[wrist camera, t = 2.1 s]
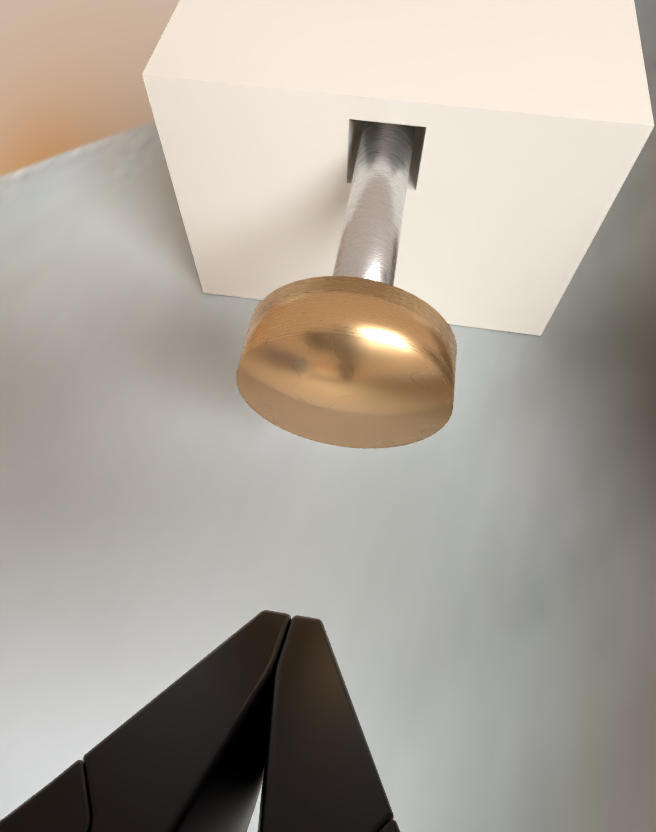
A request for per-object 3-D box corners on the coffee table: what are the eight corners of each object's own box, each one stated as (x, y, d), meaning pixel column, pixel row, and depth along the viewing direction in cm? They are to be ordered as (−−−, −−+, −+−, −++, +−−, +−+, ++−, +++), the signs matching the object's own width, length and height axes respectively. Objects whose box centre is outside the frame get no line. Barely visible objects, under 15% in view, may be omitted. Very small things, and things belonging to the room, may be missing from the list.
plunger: (433, 459, 16) (475, 353, 11) (249, 432, 16) (220, 319, 12) (456, 178, 21) (491, 29, 16) (316, 162, 21) (314, 13, 17)
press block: (540, 335, 24) (654, 126, 15) (203, 292, 25) (142, 74, 16) (538, 197, 27) (629, -31, 19) (245, 165, 28) (212, -64, 20)
